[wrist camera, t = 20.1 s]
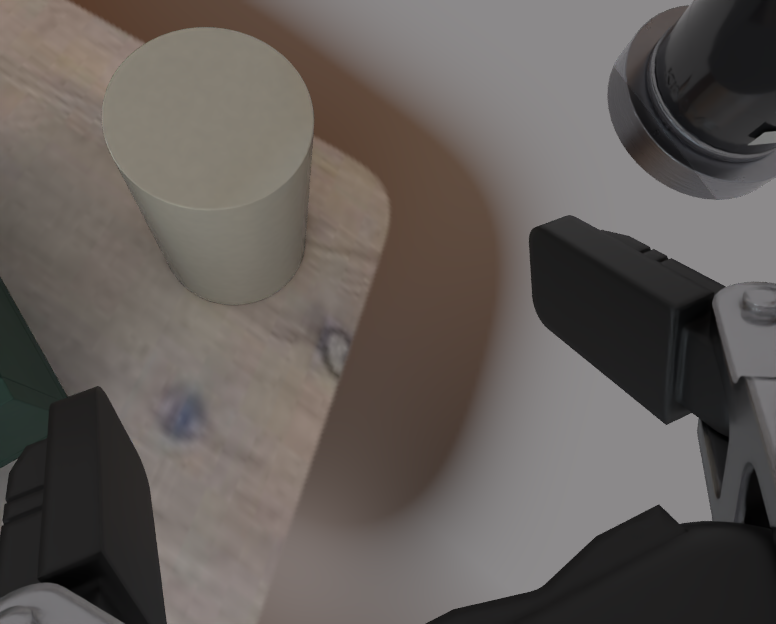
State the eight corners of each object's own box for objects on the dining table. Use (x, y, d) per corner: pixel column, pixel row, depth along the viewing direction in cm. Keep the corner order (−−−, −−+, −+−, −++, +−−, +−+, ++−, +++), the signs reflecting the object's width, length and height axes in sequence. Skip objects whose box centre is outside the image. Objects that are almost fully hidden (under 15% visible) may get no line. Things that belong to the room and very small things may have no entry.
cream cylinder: (260, 153, 30) (248, -2, 21) (331, 261, 29) (352, 151, 20) (137, 214, 29) (62, 76, 19) (208, 331, 28) (167, 247, 18)
